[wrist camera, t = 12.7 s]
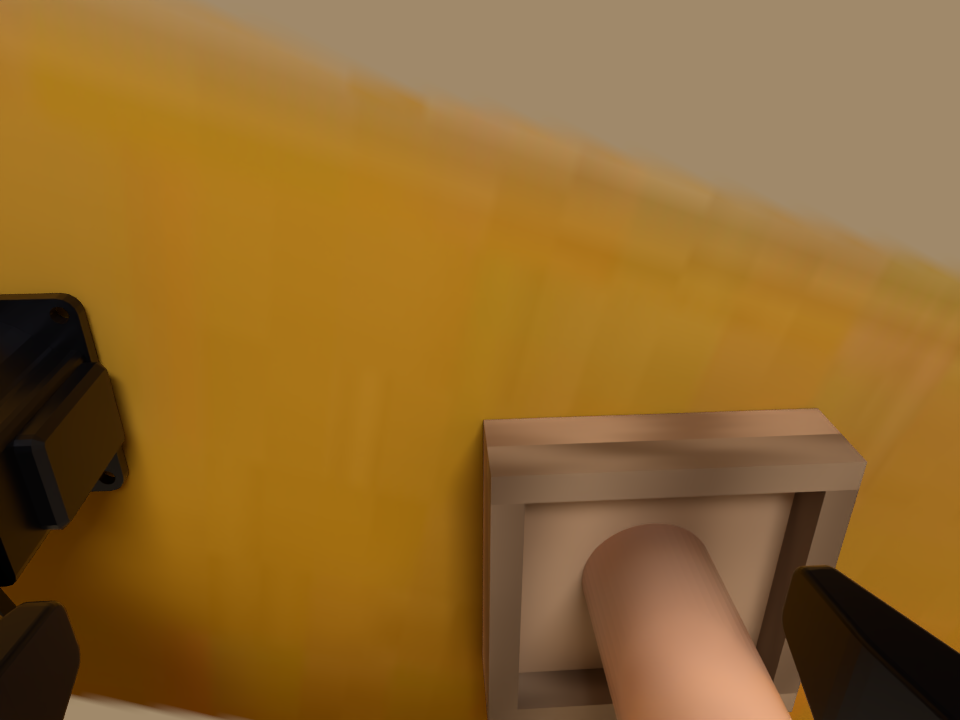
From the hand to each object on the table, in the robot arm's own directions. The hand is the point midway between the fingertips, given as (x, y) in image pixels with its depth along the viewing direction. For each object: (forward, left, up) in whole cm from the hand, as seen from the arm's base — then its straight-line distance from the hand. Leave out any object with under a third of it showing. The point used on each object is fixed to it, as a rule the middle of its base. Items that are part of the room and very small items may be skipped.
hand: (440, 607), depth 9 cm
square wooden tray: (+7, -11, -13) cm, 18 cm away
